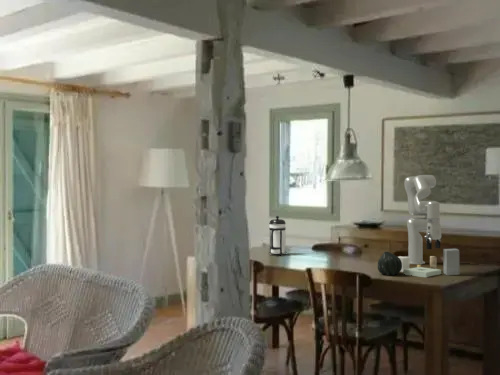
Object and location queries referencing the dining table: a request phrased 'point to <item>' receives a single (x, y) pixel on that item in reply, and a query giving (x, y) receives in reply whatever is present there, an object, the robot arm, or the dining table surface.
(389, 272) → the squash
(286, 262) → the dining table surface
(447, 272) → the skincare box
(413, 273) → the peg board
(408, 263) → the block
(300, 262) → the dining table surface
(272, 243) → the coffee press
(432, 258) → the peg
